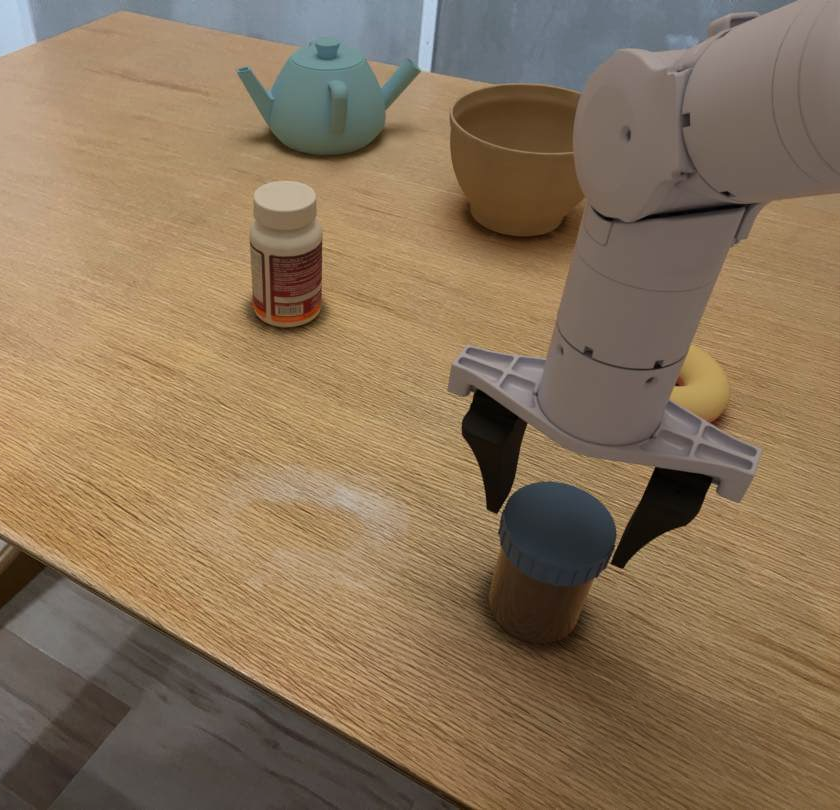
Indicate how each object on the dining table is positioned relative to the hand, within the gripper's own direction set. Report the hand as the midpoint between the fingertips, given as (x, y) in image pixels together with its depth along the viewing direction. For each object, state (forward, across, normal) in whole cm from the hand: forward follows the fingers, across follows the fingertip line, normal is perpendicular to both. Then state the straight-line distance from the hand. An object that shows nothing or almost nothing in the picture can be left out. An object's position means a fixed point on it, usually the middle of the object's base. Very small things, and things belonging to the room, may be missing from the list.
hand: (558, 526), depth 46 cm
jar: (+8, 0, 0) cm, 8 cm away
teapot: (+8, +46, -52) cm, 70 cm away
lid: (0, 0, 0) cm, 0 cm away
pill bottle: (+8, +30, -18) cm, 36 cm away
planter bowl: (+8, +19, -45) cm, 49 cm away
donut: (+8, -1, -24) cm, 25 cm away
